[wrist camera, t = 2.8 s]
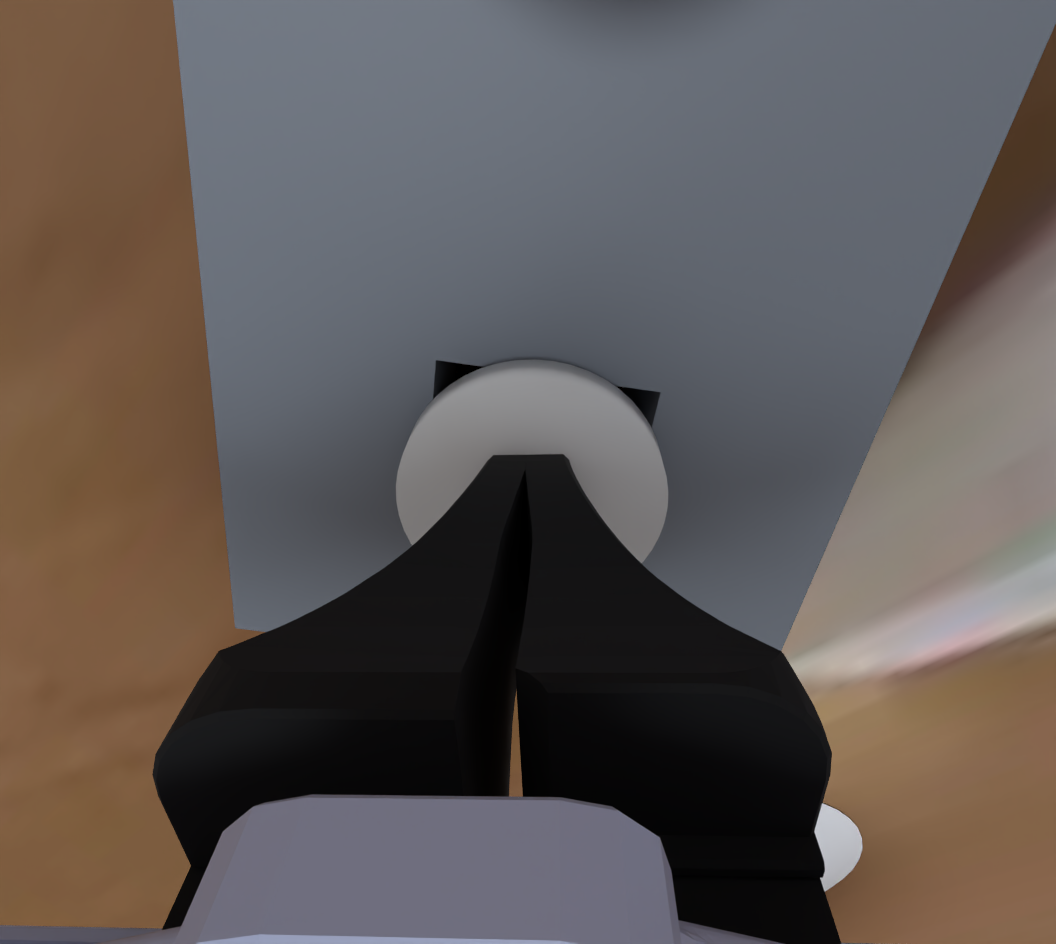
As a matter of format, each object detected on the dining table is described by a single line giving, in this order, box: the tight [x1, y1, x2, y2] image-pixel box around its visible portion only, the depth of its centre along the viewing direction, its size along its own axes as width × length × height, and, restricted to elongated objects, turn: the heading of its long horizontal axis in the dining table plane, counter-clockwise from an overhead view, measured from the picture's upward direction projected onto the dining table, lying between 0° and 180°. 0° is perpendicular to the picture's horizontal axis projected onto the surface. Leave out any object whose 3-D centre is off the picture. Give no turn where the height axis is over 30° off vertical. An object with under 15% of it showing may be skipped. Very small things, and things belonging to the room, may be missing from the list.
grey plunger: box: [396, 359, 668, 563], centre depth 14 cm, size 5×5×4 cm
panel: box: [173, 0, 1056, 651], centre depth 13 cm, size 12×20×4 cm, turn 172°
